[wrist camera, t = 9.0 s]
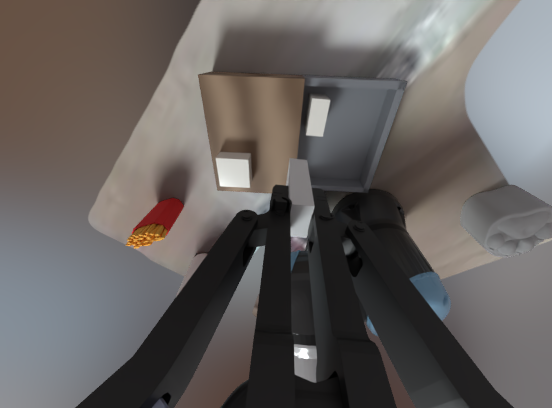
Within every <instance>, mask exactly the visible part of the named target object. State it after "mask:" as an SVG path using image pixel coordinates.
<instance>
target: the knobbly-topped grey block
mask: <svg viewBox="0 0 552 408" xmlns="http://www.w3.org/2000/svg"><path fill="white" fill-rule="evenodd" d="M460 223H461V226H462V227H463V228H464V229H465V230H466V231H467V232H468V233H469V234H470V235H471V236H472V237H473V238H474V239H475V240H476V241H477V242H478V243H479V244H480V245H481V246H482V247H483V248H484V249H485V250H486V251H487V252H489V253H490V254H492V255H494V256H498V257H512V256H516V255H520V254H521V253H525V252H529V251H531V250H532V249H533V248H534V247H535V246H536V245H538V244H539V243H540V242H543V241H544V239H549V238H552V206H550V205H548V204H546V203H545V202H543V201H542V200H540V199H538V198H537V197H535V196H533V195H531V194H530V193H528V192H526V191H524V190H523V189H521V188H519V187H517V186H515V185H508V186H504V187H501V188H498V189H496V190H492V191H487V192H481V193H478V194H475V195H473V196H471V197H470V198H469V199H468V200H467V201H466V202H465V203H464V205H463V208H462V212H461V218H460Z"/></svg>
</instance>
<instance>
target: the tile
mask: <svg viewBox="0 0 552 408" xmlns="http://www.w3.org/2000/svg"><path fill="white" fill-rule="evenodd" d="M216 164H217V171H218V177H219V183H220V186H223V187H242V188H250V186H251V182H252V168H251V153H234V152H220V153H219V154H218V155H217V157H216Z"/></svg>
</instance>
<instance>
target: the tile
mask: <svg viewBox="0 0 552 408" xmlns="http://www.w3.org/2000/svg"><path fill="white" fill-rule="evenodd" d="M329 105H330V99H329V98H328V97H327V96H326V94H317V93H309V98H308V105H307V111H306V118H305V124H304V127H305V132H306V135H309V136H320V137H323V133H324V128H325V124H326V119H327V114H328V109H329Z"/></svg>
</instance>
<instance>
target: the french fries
mask: <svg viewBox="0 0 552 408" xmlns="http://www.w3.org/2000/svg"><path fill="white" fill-rule="evenodd" d="M183 207H184V205H183V204H182V203H181V201H180V200H179V199H175V198H170V199H167V200H164V201H161V202H159V203H158V204H157V205H156V206H155V207H154V208H153V209H152V210H151V211H150V212H149V213H148V214H147V215H146V216H145V217H144V218H143V220H142V221H141V222H140V223H139V224H138V225H137V226H136V227H135V228H134V229H133V232H132V235H131V236H130V237H129V238H128V239H127V240H128V241H129V242H128V243H127V244H126V245H127V246H131V245H135V246H134V248H139V247H140V246H149V245H151V244H152V242H153V241H160V240H163V239H164V238H165V236H166V235H167V234H168V232H169V231H170V229H171V227H172V226H173V224H174V222H175V221H176V219H177V218H178V216H179V214H180V213H181V211H182V209H183Z"/></svg>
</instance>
